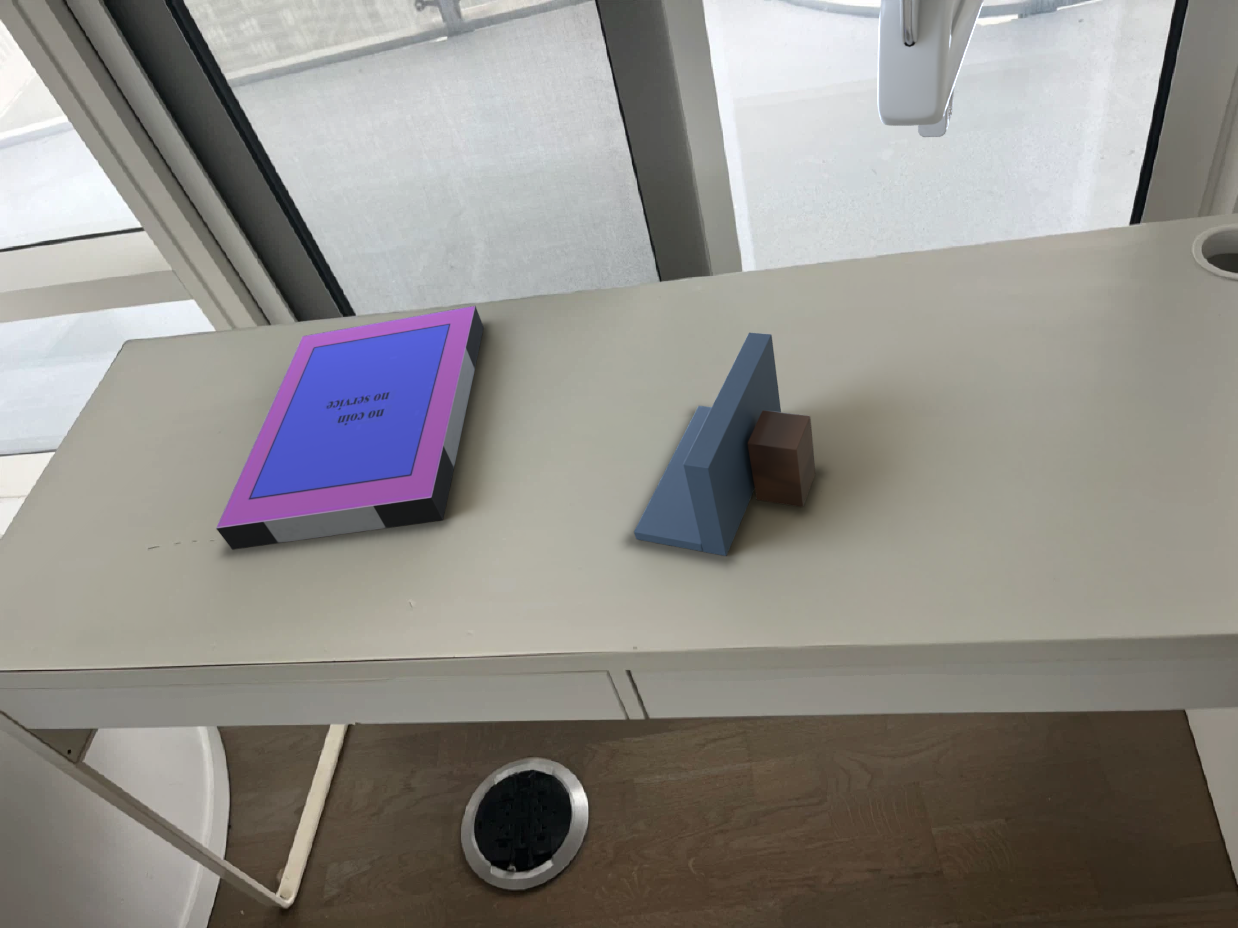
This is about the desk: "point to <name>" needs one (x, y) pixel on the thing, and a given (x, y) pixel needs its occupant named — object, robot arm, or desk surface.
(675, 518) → the bookend
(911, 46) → the robot arm
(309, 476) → the book
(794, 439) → the walnut block
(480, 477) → the desk surface
